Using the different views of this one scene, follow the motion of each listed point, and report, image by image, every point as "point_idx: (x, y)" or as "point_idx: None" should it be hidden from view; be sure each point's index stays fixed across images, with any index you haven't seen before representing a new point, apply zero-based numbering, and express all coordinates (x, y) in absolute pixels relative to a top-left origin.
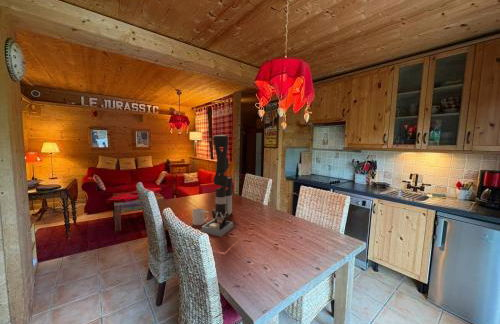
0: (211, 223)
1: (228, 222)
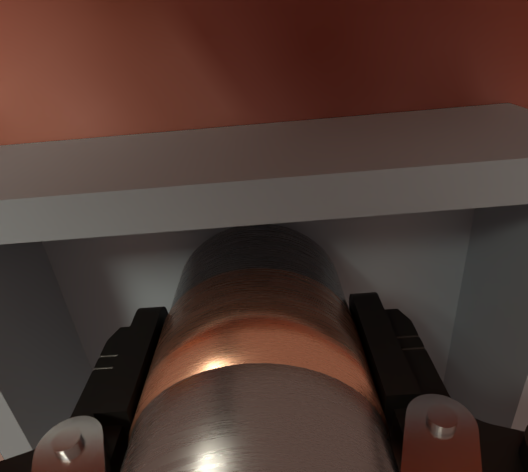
0: (39, 374)
1: (451, 201)
